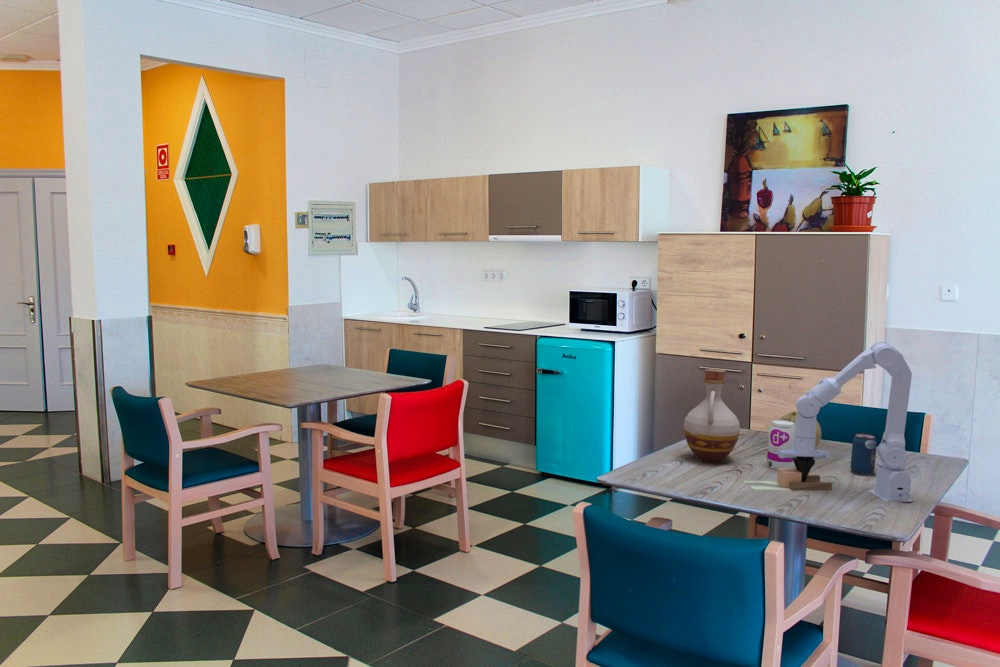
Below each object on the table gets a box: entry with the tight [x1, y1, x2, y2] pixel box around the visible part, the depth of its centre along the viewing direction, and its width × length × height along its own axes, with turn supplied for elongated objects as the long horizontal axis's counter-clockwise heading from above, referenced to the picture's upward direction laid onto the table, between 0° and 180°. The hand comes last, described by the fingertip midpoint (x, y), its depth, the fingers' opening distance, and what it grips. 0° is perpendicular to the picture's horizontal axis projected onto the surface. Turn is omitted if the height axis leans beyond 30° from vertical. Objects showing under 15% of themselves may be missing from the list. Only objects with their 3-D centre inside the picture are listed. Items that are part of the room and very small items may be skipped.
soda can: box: [850, 433, 878, 476], centre depth 254 cm, size 7×7×12 cm
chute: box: [743, 474, 833, 491], centre depth 236 cm, size 9×23×2 cm, turn 94°
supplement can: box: [766, 419, 796, 471], centre depth 256 cm, size 8×8×15 cm
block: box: [776, 467, 802, 488], centre depth 236 cm, size 5×5×4 cm
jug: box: [683, 368, 741, 464], centre depth 262 cm, size 20×18×30 cm
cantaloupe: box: [779, 410, 822, 449], centre depth 275 cm, size 15×15×15 cm
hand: (801, 481), depth 236 cm, fingers closed
